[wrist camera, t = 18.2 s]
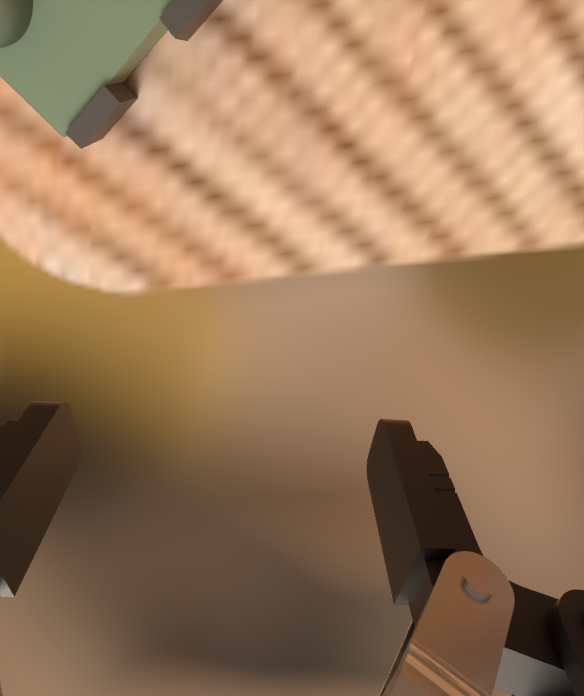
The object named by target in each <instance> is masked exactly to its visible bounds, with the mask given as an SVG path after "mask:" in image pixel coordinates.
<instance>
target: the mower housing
mask: <svg viewBox="0 0 584 696" xmlns="http://www.w3.org/2000/svg"><path fill="white" fill-rule="evenodd" d="M222 1H223V0H0V77H1V78H2V79H4V80H5V81H6V82H7V83H8V84H9V85H10V86H11V87H12V88H13V89H14V90H15V91H16V92H17V93H18V94H19V95H20V96H21V97H22V98H23V99H24V100H25V101H26V102H27V103H28V104H29V105H31V106H32V107H33V108H34V109H35V110H36V111H37V112H38V113H39V114H40V115H41V116H42V117H43V118H44V119H45V120H46V121H47V122H48V123H49V124H50V125H51V126H52V127H53V128H54V129H55V130H56V131H57V132H59V133H60V134H61V135H62V136H63V137H65V136H69V137H70V138H71V139H72V140H73V141H74V142H75V143H76V144H77V145H78V146H79V147H80V148H81V149H82V148H84V147H86V146H88V145H90V144H92V143H95V142H97V141H99V140H101V139H103V138H104V136H105V135H106V134H107V133H108V132H109V131H110V129H111V128H112V127H113V126H114V125H115V124H116V123H117V121H118V120H119V119H120V118H121V117H122V116H123V115H124V113H125V112H126V111H127V110H128V109H129V108H130V106H131V105H132V104H133V103H134V102H135V101H136V100H137V98H138V97H137V96H136V95H135V94H134V93H133V92H132V91H131V90H130V89H129V87H128V86H127V85H126V84H125V83H124V81H125V80H126V79H127V78H128V76H129V75H130V74H131V73H132V72H133V71H134V69H135V68H136V67H137V66H138V65H139V63H140V62H141V61H142V60H143V59H144V57H145V56H146V55H147V54H148V53H149V51H150V50H151V49H152V48H153V47H154V45H155V44H156V43H157V42H158V41H159V40H160V38H161V37H162V36H163V35H164V34H165V32H166V31H167V30H169V31H170V33H171V34H172V35H173V36H174V38H175V39H180V40H185V41H188V40H189V39H190V37H191V36H192V35H193V34H194V33H195V32H196V31H197V29H198V28H199V27H200V26H201V25H202V24H203V23H204V21H205V20H206V19H207V18H208V17H209V16H210V14H211V13H212V12H213V11H214V10H215V9H216V8H217V6H218V5H219V4H220V3H221V2H222Z"/></svg>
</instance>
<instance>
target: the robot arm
mask: <svg viewBox="0 0 584 696" xmlns="http://www.w3.org/2000/svg"><path fill="white" fill-rule="evenodd" d="M80 455H81V444H80V440H79V437H78V433H77V429H76V426H75V422H74V418H73V414H72V411H71V407H70V406H69V404H68V403H63V402H44V401H43V402H42V401H34V402H32V403H31V404H30V405H29V406H28V408H27V409H26V410H25V412H24V413H23V415H22V416H21V417H20V419H19V420H18V421H8V422H6V423H5V424H4V425H2V426H1V427H0V597H14V596H15V594H16V592H17V590H18V588H19V586H20V584H21V582H22V580H23V578H24V576H25V574H26V572H27V570H28V568H29V566H30V564H31V562H32V559H33V558H34V555H35V553H36V551H37V549H38V547H39V545H40V543H41V541H42V539H43V537H44V535H45V533H46V531H47V529H48V527H49V525H50V523H51V521H52V518H53V517H54V514H55V513H56V510H57V508H58V506H59V504H60V502H61V500H62V498H63V496H64V494H65V492H66V490H67V488H68V485H69V484H70V482H71V480H72V478H73V476H74V474H75V472H76V469H77V467H78V464H79V460H80ZM367 480H368V484H369V489H370V494H371V499H372V504H373V508H374V513H375V517H376V522H377V527H378V531H379V536H380V541H381V546H382V550H383V555H384V559H385V565H386V569H387V573H388V579H389V583H390V588H391V593H392V597H393V602H394V605H409V607H410V611H411V615H412V620H413V621H412V623H411V624H410V627H409V629H408V631H407V634H406V636H405V638H404V640H403V643H402V645H401V647H400V649H399V652H398V654H397V656H396V659H395V661H394V663H393V665H392V668H391V670H390V673H389V675H388V677H387V679H386V681H385V684H384V686H383V688H382V690H381V693H380V695H379V696H492V693H493V689H494V687H496V688H498V689H500V690H503V691H506V692H508V693H510V694H511V695H512V696H584V590H570V591H568V592H566V593H564V594H563V596H562V597H561V598H560V599H556V598H553V597H550V596H547V595H544V594H542V593H538V592H536V591H533V590H530V589H527V588H524V587H522V586H519V585H517V584H515V583H513V582H511V581H509V580H508V579H507V577H506V576H505V574H504V573H503V572H502V571H501V570H500V568H499V567H497V566H496V565H495V564H494V563H493V562H492V561H490V560H489V559H487V558H486V557H484V556H483V554H482V553H481V550H480V549H479V546H478V544H477V541H476V539H475V536H474V534H473V532H472V529H471V527H470V524H469V522H468V519H467V517H466V514H465V512H464V510H463V507H462V505H461V502H460V500H459V497H458V495H457V493H455V488H454V485H453V483H452V481H451V478H449V473H448V471H447V468H446V466H445V464H444V461H443V459H442V457H441V455H440V454H439V453H438V452H437V451H436V450H435V449H434V448H433V446H432V445H431V444H430V443H429V442H428V441H417V439H416V437H415V434H414V431H413V428H412V426H411V424H410V422H409V421H407V420H405V421H404V420H386V419H385V420H384V419H380V420H379V421H378V424H377V427H376V430H375V434H374V437H373V441H372V444H371V448H370V452H369V455H368V459H367ZM0 696H3V693H2V687H1V683H0Z"/></svg>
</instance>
